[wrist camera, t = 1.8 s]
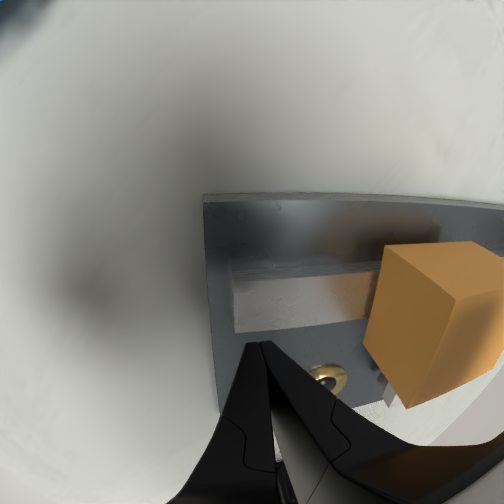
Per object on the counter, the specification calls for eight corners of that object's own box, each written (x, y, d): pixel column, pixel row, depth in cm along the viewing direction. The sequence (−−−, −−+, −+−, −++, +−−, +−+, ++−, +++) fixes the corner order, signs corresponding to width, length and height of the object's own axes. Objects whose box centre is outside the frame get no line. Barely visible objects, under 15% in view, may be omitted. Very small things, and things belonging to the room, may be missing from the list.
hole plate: (504, 335, 21) (540, 370, 15) (220, 411, 17) (230, 502, 11) (544, 211, 16) (595, 237, 10) (203, 194, 12) (198, 263, 6)
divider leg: (417, 370, 16) (456, 423, 11) (339, 391, 15) (372, 460, 10) (462, 235, 12) (533, 278, 8) (374, 238, 12) (456, 299, 7)
